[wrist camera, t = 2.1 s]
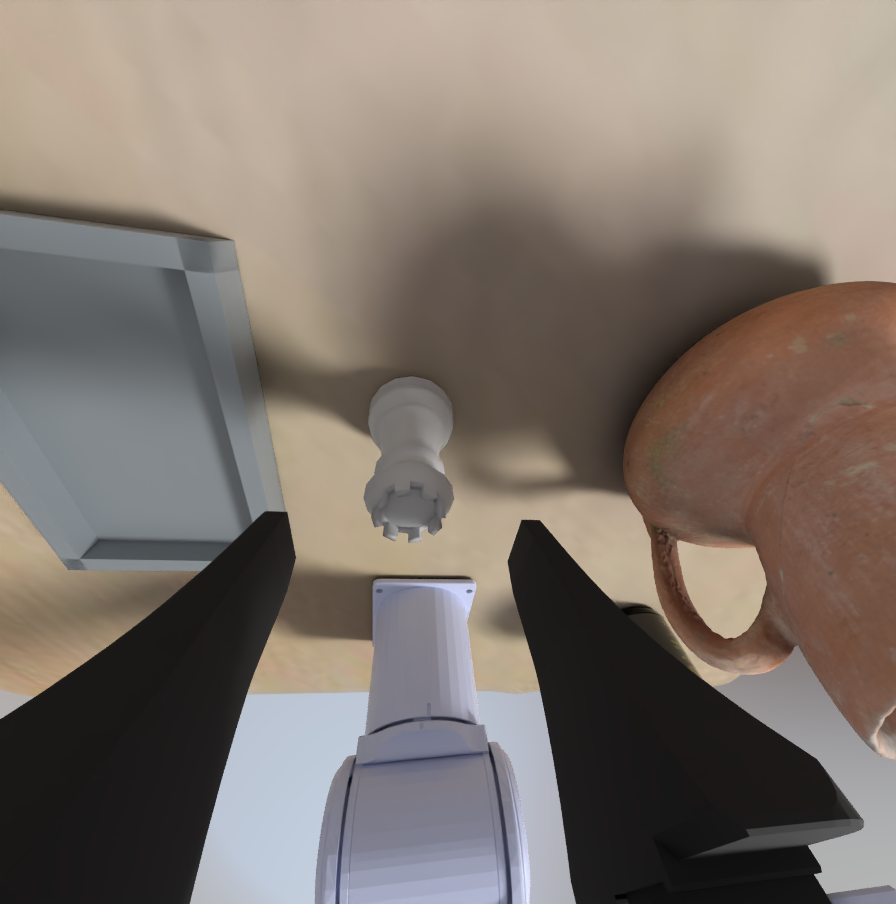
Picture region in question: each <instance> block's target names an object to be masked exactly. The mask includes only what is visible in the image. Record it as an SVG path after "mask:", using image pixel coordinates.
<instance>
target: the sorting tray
mask: <svg viewBox="0 0 896 904" xmlns="http://www.w3.org/2000/svg"><path fill="white" fill-rule="evenodd" d="M0 481H1V483H2V484H3V485H4V486H5V488H6V489H7V490H8V492H9V493H10V494H11V496H12V497H13V498H14V499H15V501H16V502H17V503H18V505H19V506H20V507H21V509H22V510H23V511H24V513H25V514H26V515H27V516H28V518H29V519H30V520H31V522H32V523H33V524H34V526H35V527H36V528H37V529H38V531H39V532H40V533H41V535H42V536H43V537H44V539H45V540H46V541H47V543H48V544H49V545H50V546H51V548H52V549H53V550H54V552H55V553H56V554H57V556H58V557H59V558H60V559H61V561H62V562H63V563H64V565H65V566H66V567H67V569H68V570H123V571H202V570H203V569H204V568H205V567H206V566H207V565H208V564H210V563H211V562H212V561H213V560H214V559H215V558H216V557H217V556H218V555H219V554H220V553H222V552H223V551H224V550H225V549H226V548H227V547H228V546H229V545H230V544H231V543H232V542H233V541H234V540H235V539H236V538H237V537H238V536H239V535H240V534H241V533H243V532H244V531H245V530H246V529H247V528H248V527H249V526H250V525H251V524H252V523H253V522H254V521H255V520H256V519H257V518H258V517H259V516H260V515H261V514H262V513H263V512H265V511H280V512H285V507H284V502H283V496H282V491H281V486H280V481H279V475H278V470H277V465H276V460H275V454H274V449H273V444H272V439H271V434H270V428H269V423H268V418H267V413H266V407H265V402H264V397H263V392H262V386H261V381H260V376H259V371H258V365H257V360H256V355H255V350H254V345H253V339H252V334H251V329H250V324H249V318H248V313H247V308H246V303H245V297H244V292H243V287H242V282H241V276H240V271H239V266H238V261H237V256H236V250H235V245H234V241H233V240H226V239H218V238H211V237H203V236H196V235H188V234H181V233H174V232H166V231H159V230H151V229H144V228H136V227H129V226H121V225H114V224H107V223H99V222H92V221H84V220H77V219H69V218H62V217H54V216H47V215H40V214H32V213H25V212H17V211H10V210H2V209H0Z"/></svg>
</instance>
